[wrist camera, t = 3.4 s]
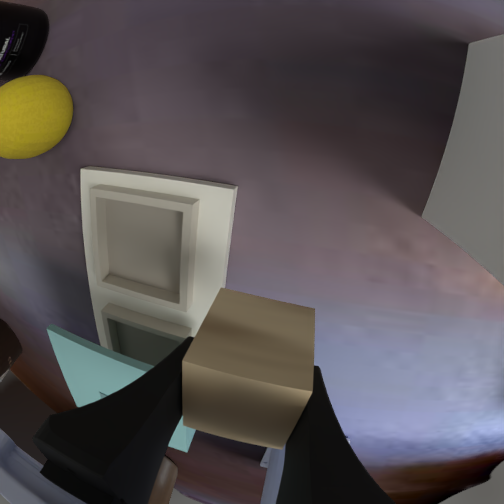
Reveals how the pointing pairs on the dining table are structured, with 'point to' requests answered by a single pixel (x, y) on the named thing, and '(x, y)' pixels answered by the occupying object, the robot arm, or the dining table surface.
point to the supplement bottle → (20, 38)
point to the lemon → (33, 115)
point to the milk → (475, 162)
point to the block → (249, 369)
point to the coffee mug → (8, 348)
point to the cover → (102, 374)
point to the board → (153, 256)
